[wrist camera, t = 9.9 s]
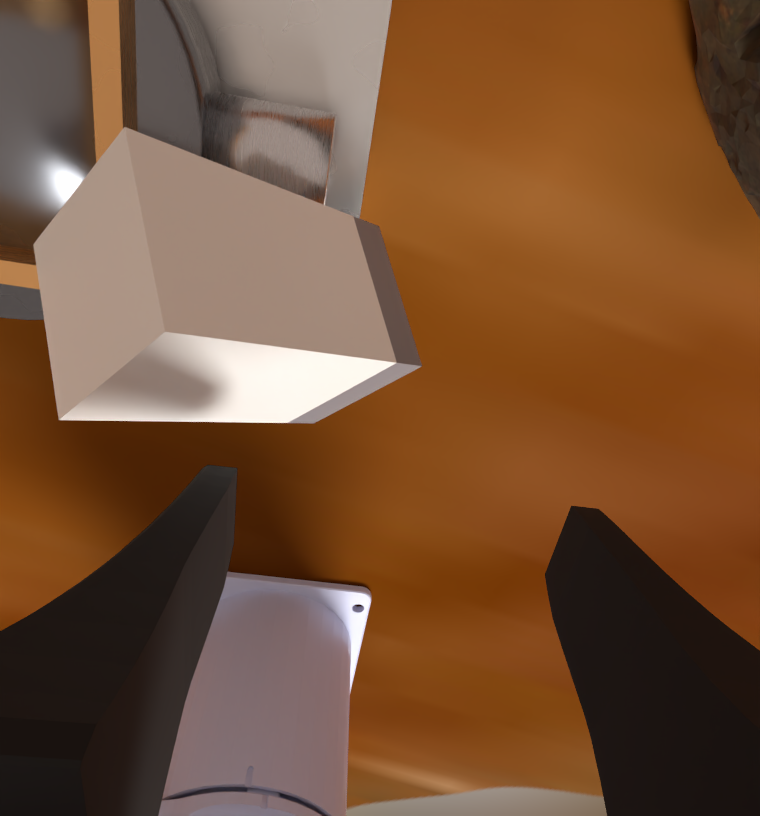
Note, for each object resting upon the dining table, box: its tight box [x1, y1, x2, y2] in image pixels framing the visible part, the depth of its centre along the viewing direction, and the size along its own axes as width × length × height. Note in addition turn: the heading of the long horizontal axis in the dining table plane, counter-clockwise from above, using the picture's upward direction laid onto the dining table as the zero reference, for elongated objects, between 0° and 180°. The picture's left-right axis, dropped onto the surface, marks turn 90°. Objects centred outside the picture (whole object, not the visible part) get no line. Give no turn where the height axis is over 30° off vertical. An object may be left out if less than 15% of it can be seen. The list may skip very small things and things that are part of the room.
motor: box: [0, 0, 392, 320], centre depth 15 cm, size 11×18×5 cm, turn 80°
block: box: [33, 127, 422, 423], centre depth 14 cm, size 4×4×7 cm
